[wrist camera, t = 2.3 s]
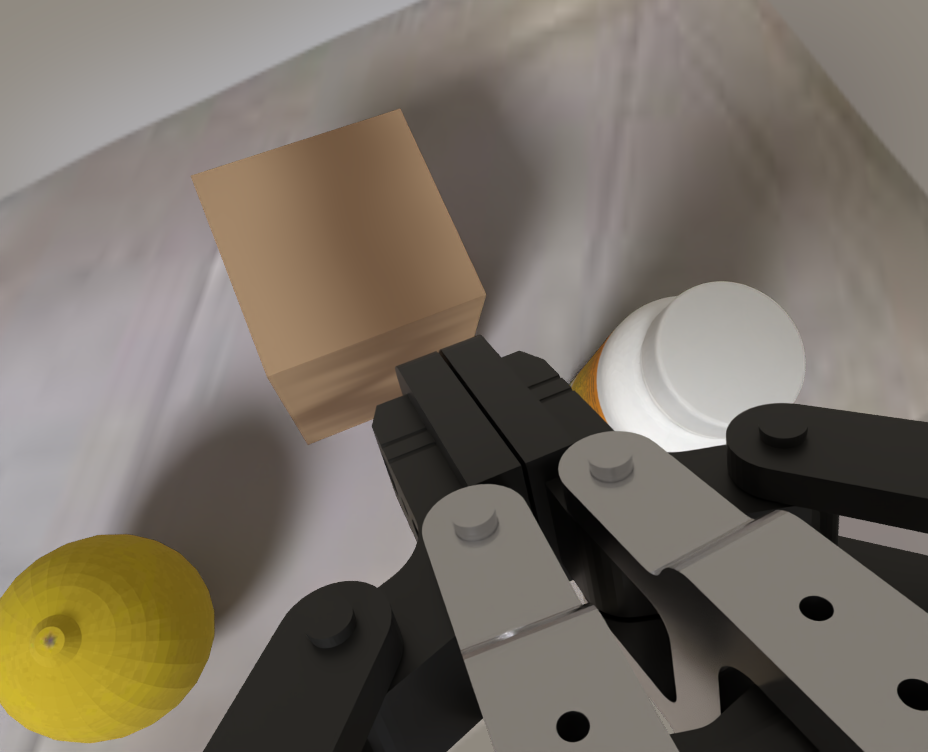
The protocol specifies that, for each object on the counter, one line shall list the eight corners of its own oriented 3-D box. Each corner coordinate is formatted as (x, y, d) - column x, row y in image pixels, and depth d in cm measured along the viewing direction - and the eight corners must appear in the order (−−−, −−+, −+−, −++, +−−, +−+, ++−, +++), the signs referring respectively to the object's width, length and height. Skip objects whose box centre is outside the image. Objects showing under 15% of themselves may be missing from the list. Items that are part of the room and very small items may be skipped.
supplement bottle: (612, 533, 28) (720, 501, 18) (525, 412, 29) (585, 324, 19) (723, 449, 29) (877, 380, 20) (635, 336, 30) (743, 219, 21)
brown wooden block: (307, 445, 28) (267, 376, 19) (252, 300, 29) (190, 175, 21) (460, 384, 29) (486, 294, 20) (399, 247, 30) (400, 108, 22)
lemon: (244, 700, 25) (177, 746, 18) (68, 732, 25) (-82, 793, 17) (231, 531, 27) (164, 505, 19) (64, 556, 26) (-76, 540, 18)
